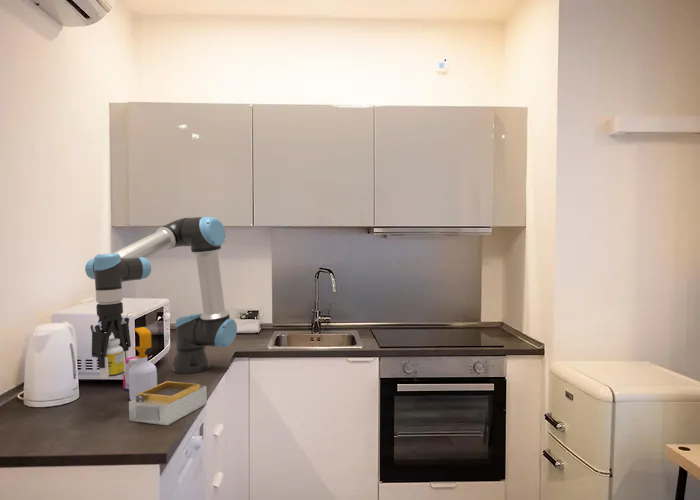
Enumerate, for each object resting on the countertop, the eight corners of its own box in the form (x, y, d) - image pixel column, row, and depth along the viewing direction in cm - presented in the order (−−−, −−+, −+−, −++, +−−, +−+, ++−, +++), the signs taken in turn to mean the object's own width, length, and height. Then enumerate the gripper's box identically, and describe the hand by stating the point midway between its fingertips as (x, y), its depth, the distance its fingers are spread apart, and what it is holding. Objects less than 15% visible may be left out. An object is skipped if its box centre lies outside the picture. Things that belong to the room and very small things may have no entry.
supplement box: (146, 387, 187) (145, 357, 187) (132, 391, 182) (131, 360, 182) (136, 385, 190) (135, 355, 190) (122, 389, 185) (121, 358, 185)
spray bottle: (149, 391, 182) (146, 324, 181) (162, 396, 176) (160, 327, 175) (124, 398, 175) (122, 328, 174) (137, 403, 169) (135, 331, 168)
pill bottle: (99, 376, 158) (97, 340, 158) (120, 371, 163) (118, 336, 162) (106, 380, 154) (104, 343, 153) (127, 375, 158) (125, 339, 158)
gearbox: (172, 400, 172) (171, 378, 171) (206, 403, 167) (206, 381, 167) (128, 421, 152) (127, 397, 152) (166, 425, 148) (165, 400, 148)
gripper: (122, 297, 168) (126, 365, 169) (74, 307, 149) (78, 382, 150) (141, 298, 165) (144, 366, 166) (94, 307, 147) (98, 384, 148)
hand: (113, 374), depth 158 cm, fingers closed on pill bottle, 6 cm apart
